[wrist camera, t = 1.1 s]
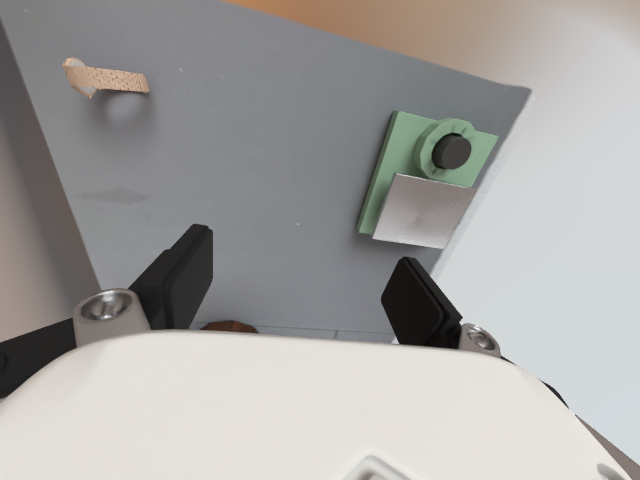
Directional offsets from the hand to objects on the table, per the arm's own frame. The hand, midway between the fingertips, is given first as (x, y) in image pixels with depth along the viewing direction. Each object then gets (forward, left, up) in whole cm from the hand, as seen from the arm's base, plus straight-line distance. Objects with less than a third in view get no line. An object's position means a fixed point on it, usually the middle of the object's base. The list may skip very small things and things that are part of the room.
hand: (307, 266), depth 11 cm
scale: (-1, +14, -17) cm, 23 cm away
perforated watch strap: (-5, -17, -18) cm, 25 cm away
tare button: (-6, +14, -15) cm, 21 cm away
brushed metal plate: (+1, +14, -14) cm, 20 cm away
